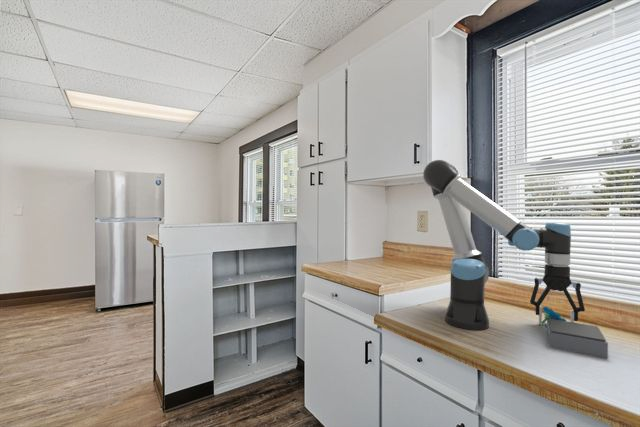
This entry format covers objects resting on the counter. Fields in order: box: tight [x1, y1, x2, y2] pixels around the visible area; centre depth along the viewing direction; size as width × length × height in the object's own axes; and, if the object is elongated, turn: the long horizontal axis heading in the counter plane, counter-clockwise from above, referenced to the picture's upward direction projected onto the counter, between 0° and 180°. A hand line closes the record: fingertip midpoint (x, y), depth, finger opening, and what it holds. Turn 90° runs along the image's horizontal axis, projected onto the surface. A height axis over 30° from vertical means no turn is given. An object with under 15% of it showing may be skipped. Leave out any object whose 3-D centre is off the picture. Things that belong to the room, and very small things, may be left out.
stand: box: [546, 319, 609, 359], centre depth 104 cm, size 14×15×5 cm
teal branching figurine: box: [542, 306, 567, 328], centre depth 119 cm, size 11×6×10 cm
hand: (555, 326), depth 119 cm, fingers closed on teal branching figurine, 9 cm apart
